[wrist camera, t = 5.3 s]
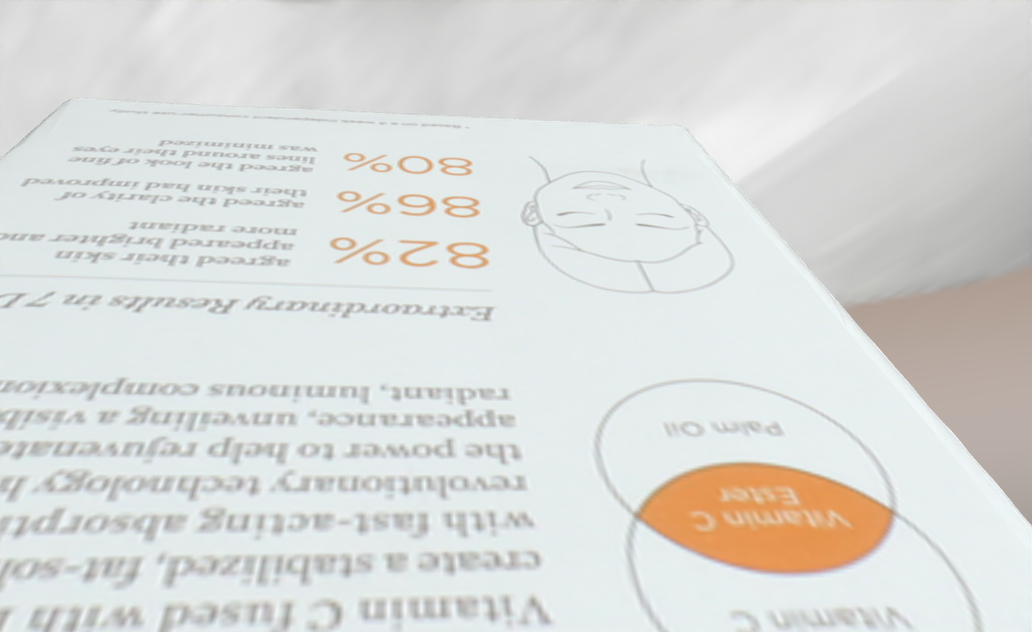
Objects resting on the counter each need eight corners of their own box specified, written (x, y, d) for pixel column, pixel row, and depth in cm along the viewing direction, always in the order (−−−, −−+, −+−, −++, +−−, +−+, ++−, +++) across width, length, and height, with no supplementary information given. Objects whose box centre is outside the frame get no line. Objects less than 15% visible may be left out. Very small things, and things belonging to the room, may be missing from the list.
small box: (129, 439, 13) (-459, 1773, 4) (65, 80, 10) (-2034, 1794, 1) (632, 442, 14) (995, 1514, 5) (698, 116, 12) (1699, 1240, 3)
